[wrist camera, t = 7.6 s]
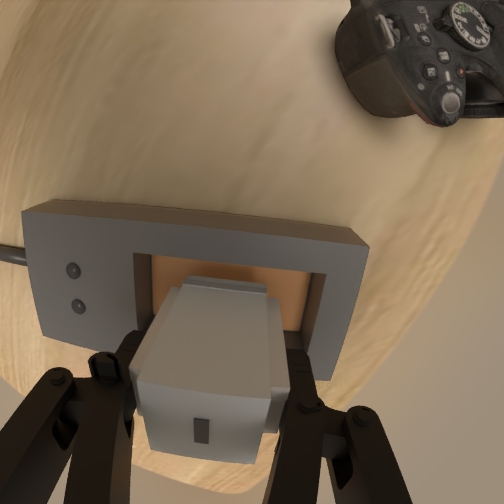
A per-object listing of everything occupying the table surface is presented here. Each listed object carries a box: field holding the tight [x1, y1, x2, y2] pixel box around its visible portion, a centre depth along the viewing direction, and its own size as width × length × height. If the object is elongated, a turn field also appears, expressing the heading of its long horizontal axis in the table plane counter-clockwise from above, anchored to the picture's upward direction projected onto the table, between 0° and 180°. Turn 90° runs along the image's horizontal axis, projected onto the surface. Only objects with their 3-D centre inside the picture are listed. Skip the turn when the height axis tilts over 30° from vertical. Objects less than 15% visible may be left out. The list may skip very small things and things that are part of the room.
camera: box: [335, 0, 504, 127], centre depth 9 cm, size 13×10×10 cm
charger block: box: [137, 275, 271, 464], centre depth 12 cm, size 4×4×8 cm
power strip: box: [0, 200, 370, 381], centre depth 17 cm, size 33×9×4 cm, turn 84°
